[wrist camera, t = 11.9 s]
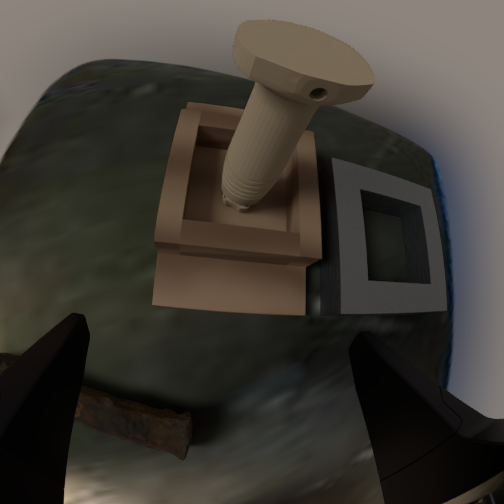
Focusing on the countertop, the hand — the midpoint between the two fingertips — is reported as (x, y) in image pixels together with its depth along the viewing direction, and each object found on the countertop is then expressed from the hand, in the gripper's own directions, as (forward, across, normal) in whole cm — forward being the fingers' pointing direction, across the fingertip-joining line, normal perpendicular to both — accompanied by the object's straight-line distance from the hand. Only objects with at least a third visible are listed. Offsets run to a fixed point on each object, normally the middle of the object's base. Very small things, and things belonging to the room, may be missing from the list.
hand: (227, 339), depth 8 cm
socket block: (+16, -17, +4) cm, 23 cm away
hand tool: (+5, +10, +15) cm, 19 cm away
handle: (+17, -2, +1) cm, 17 cm away
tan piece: (+18, -2, +1) cm, 18 cm away
